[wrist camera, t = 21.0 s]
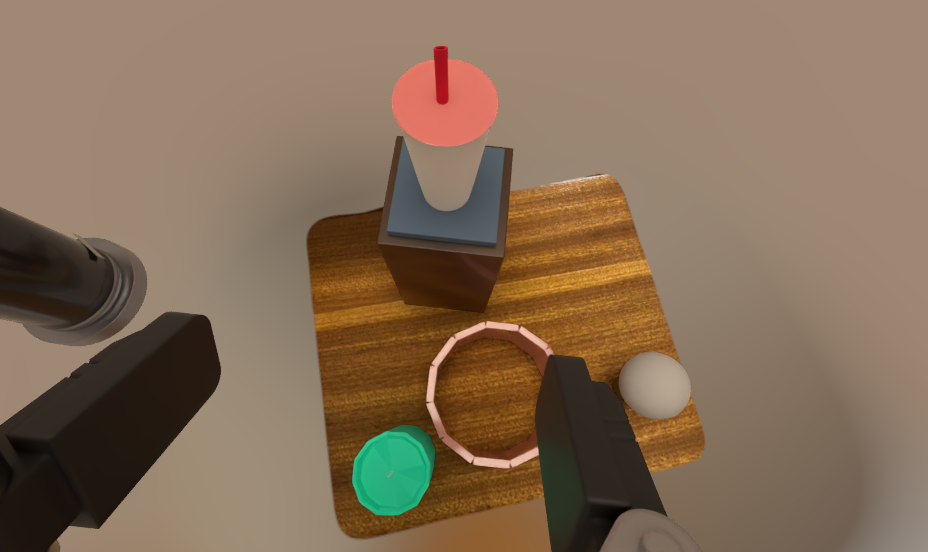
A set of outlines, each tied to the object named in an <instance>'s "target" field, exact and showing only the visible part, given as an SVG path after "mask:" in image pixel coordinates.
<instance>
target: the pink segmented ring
mask: <svg viewBox="0 0 928 552" xmlns="http://www.w3.org/2000/svg"><path fill="white" fill-rule="evenodd" d="M480 338H490V339H499V340H508V341H511V342H512V343H513V344H515V345H516V346H518V347H519V348H520V349H522V350H523V351H525V352H526V353H527V354H529V355H530V356H531V357H533V359H534V361H535V363H536V365H537V367H538V369H539V372H540V374H541V376H542V378H543V375H544V371H545V367H546V362H547V359H548V357H549V355H550V354H554V353H553V351H552V349H551V347H549V348H547V347H548V346H549V345H548V344H547V343H545V342H544V341H542V340H541V339H540V338H538V337H537V336H535V335H534V334H533V333H531V332H530V331H528V330H527V329H526V328H524V327H523V326H520V327H519V325H518V324H510V323H501V322H492V321H486V323H484V322H481V323H479V324H476V325H474V326H472V327H469V328H467V329H465V330H463V331H460V332H458V333H456V334H454V337H453V336H451V337H450V339H449V340H448V341H447V343H446V344H445V345H444V347H443V348H442V350H441V351H440V352H439V354H438V355H437V356H436V358H435V359H434V360H433V362H432V363H431V364H432V366H430V371H429V379H428V387H427V395H426V402H429V403H427V404H426V405H427V408H428V410H429V413H430V416H431V418H432V421H433V423H434V426H435V428H436V431H437V433H438V436H439V438H442V442H443V443H445V444H446V445H447V446H448V447H450V448H451V449H452V450H454V451H455V452H456V453H457V454H459V455H460V456H461V457H462V458H464V459H465V460H466V461H467V462H469V463H470V464H471V462H472V463H473V465H478V466H487V467H495V468H504V469H509V468H510V467H511V468H514V467H516V466H518V465H520V464H522V463H524V462H526V461H528V460H530V459H532V458H534V457H536V456H538V455H539V452H538V445H537V437H536V429H534V431H533V432H532V434H531V436H530V437H529V439H528V440H526V441H524V442H522V443H520V444H518V445H516V446H514V447H511V448H509V449H507V450H505V451H503V452H492V451H483V450H475V449H471V448H469V447H468V446H467V445H465V444H464V443H463V442H462V441H460V440H459V439H458V438H456V437H455V436H454V435H453V434H451V433H450V432H449V431H448V430H447V428H446V426H445V424H444V421H443V419H442V416H441V414H440V411H439V409H438V406H437V404H436V395H437V387H438V379H439V372H440V370H441V369H442V368H443V366H444V365H445V364H446V362H447V361H448V360H449V358H450V357H451V355H452V354H453V353H454V351H455V350H456V349H457V348H459V347H462V346H464V345H466V344H468V343H471V342H473V341H475V340H477V339H480Z"/></svg>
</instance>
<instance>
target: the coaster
mask: <svg viewBox="0 0 928 552" xmlns="http://www.w3.org/2000/svg"><path fill="white" fill-rule="evenodd" d="M504 153H505V149H501V148H492V147H485V148H484V151H483V155H482V158H481V161H480V165H479V168H478V172H477V175H476V178H475V182H474V185H473V187H472V191H471V194H470V197H469V199H468V201H467V202H466V203H465V204H464V205H463V206H462V207H461V208H459V209H457V210H453V211H441V210H437V209H435V208H433V207H432V206H431V205H429V204H428V202H427V201H426V199H425V197H424V195H423V192H422V189H421V186H420V184H419V181H418V178H417V175H416V172H415V169H414V166H413V163H412V160H411V157H410V154H409V151H408V148H407V145H406V142H405V139H404V138H403V142H402V147H401V153H400V159H399V164H398V170H397V175H396V181H395V186H394V192H393V198H392V203H391V209H390V214H389V220H388V225H387V233H388V235H390V236H399V237H408V238H417V239H426V240H435V241H444V242H453V243H462V244H471V245H480V246H489V247H496V243H497V232H498V221H499V210H500V198H501V187H502V176H503V165H504Z"/></svg>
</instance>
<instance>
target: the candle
mask: <svg viewBox="0 0 928 552" xmlns="http://www.w3.org/2000/svg"><path fill="white" fill-rule="evenodd" d="M434 462H435V447H434V445H433V443H432V440H431V438H430V436H429V434H427V433H426V432H425V431H423V430H422V429H420V428H419V427H418V426H413V425H400V426H397V427H395V428H393V429H391V430H388V431H386V432H384V433H382V434H380V435H378V436H376V437H374V438H373V439H371V440H369V441H367V443H366V444H365V445H364V447H363V448H362V450H361V451H360V452H359V454H358V455H357V457H356V458H355V459H354V468H353V477H352V483H353V486H354V489H355V491H356V494H357V497H358V500H359V502H360V503H361V504H362V505H364V506H365V507H366V508H368V509H369V510H370V511H372V512H373V513H374V514H376V515H400V514H402V513H404V512H406V511H408V510H409V509H411V508H413V507H415V506H417V505H418V503H419V501H420V500H421V498H422V496H423V495H424V493H425V491H426V490H427V488H428V486H429V484H430V480H431V476H432V472H433V469H434Z"/></svg>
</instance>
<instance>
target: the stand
mask: <svg viewBox="0 0 928 552" xmlns="http://www.w3.org/2000/svg"><path fill="white" fill-rule="evenodd" d="M403 138H404V137H403V136H397V138H396V143H395V148H394V154H393V159H392V165H391V170H390V175H389V181H388V186H387V192H386V197H385V202H384V208H383V213H382V218H381V224H380V229H379V235H378V240H377V245H378V247H379V249H380V251H381V253H382V255H383V258H384V260H385V262H386V264H387V266H388V268H389V270H390V273H391V275H392V277H393V279H394V281H395V283H396V286H397V288H398V290H399V292H400V294H401V296H402V299H403V301H404V303H405V304H411V305H420V306H429V307H438V308H447V309H456V310H465V311H474V312H483V313H484V312H485V309H486V306H487V304H488V301H489V298H490V295H491V293H492V290H493V287H494V284H495V282H496V279H497V276H498V273H499V271H500V268H501V265H502V262H503V260H504V256H505V244H506V232H507V219H508V207H509V195H510V182H511V170H512V157H513V149H512V148H503V147H494V146H485V147H492V148H501V149H505V153H504V165H503V176H502V187H501V198H500V210H499V221H498V232H497V243H496V247H489V246H480V245H471V244H462V243H453V242H444V241H435V240H426V239H417V238H408V237H399V236H390V235H388V233H387V225H388V220H389V214H390V209H391V203H392V198H393V192H394V186H395V181H396V175H397V170H398V164H399V159H400V153H401V147H402V142H403Z"/></svg>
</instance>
